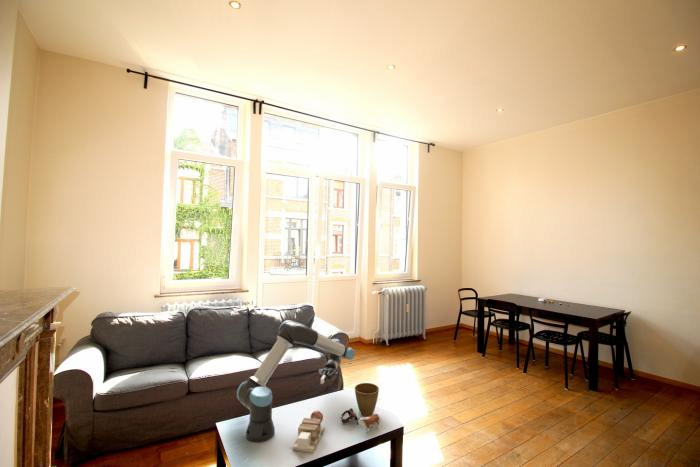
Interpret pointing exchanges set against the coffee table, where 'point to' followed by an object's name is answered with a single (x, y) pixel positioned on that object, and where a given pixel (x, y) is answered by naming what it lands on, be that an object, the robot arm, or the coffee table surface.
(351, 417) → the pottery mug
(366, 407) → the plant pot
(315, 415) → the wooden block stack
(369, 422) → the bull figurine
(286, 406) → the coffee table surface
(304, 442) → the block
